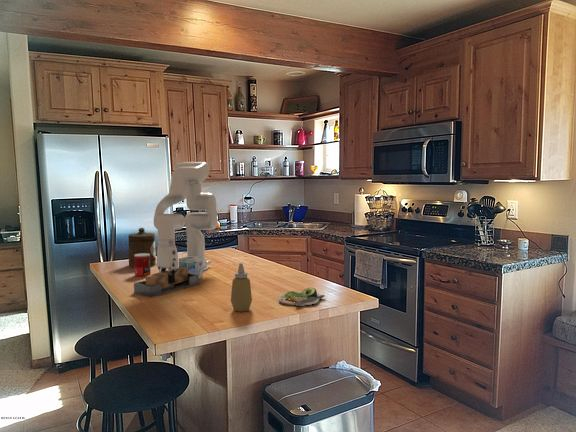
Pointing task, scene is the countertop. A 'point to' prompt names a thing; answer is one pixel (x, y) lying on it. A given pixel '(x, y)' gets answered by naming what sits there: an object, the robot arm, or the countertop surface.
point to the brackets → (156, 289)
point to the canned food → (142, 264)
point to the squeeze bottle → (241, 291)
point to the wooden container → (142, 246)
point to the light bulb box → (192, 265)
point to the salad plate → (301, 297)
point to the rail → (163, 277)
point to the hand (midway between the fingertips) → (167, 281)
